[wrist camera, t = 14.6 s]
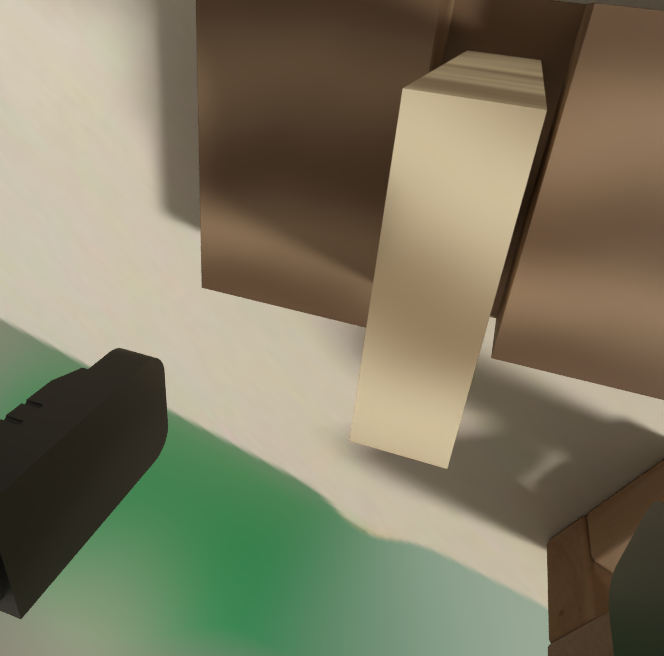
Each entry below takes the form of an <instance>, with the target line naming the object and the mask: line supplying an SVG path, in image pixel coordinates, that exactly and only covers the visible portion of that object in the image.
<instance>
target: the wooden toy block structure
mask: <svg viewBox="0 0 664 656" xmlns="http://www.w3.org/2000/svg"><path fill="white" fill-rule="evenodd" d="M656 501H660V502H663V503H664V460H663V461H661V462H660V463H658V464H657V465H655V466H654V467H653V468H651V469H650V470H648V471H647V472H646V473H644V474H643V475H641V476H640V477H639V478H637V479H636V480H634V481H633V482H631V483H630V484H629V485H627V486H626V487H624V488H623V489H622V490H620V491H619V492H617V493H616V494H615V495H613V496H612V497H610V498H609V499H607V500H606V501H605V502H603V503H602V504H600V505H599V506H598V507H596V508H595V509H593V510H592V511H591V512H589V514H588V516H587V517H586V516H584V517H581V518H580V519H578V520H577V521H576V522H574V523H573V524H571V525H570V526H569V527H567V528H566V529H564V530H563V531H562V532H560V533H559V534H557V535H556V536H555V537H553V538H552V539H550V540H549V542H548V544H547V569H548V613H549V640H550V643H551V644H550V645H549V646H548V656H614V652H613V643H612V634H611V626H610V617H609V602H608V601H609V589H610V583H611V579H612V575H613V572H614V569H615V567H616V565H617V563H618V561H619V560H620V558H621V556H622V554H623V552H624V551H625V549H626V547H627V545H628V543H629V542H630V540H631V538H632V536H633V534H634V533H635V531H636V529H637V527H638V525H639V524H640V522H641V520H642V518H643V517H644V515H645V513H646V511H647V510H648V508H649V507H650V505H651V504H653V503H654V502H656Z"/></svg>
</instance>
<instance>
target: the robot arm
mask: <svg viewBox="0 0 664 656" xmlns="http://www.w3.org/2000/svg"><path fill="white" fill-rule="evenodd" d="M167 432H168V418H167V403H166V388H165V373H164V366H163V363H162V362H161V360H159V359H158V358H154V357H151V356H147V355H143V354H140V353H136V352H133V351H129V350H126V349H122V348H117V349H114V350H112V351H111V352H109V353H108V354H107V355H105V356H104V357H103V358H102V359H100V360H99V361H98V362H97V363H95V364H94V365H93V366H92V367H90V368H89V369H85V368H80V369H78V370H76V371H73V372H71V373H69V374H66V375H64V376H62V377H59V378H57V379H54V380H52V381H51V382H49V383H48V384H46V385H45V386H44V387H42V388H41V389H40V390H39V391H37V392H36V393H35V394H33V395H32V396H31V397H30V398H28V399H27V401H26V403H25V404H20V405H19V406H18V407H16V408H15V409H14V410H12V411H11V412H10V413H8V414H7V415H6V418H5V420H0V611H2V612H5V613H7V614H10V615H12V616H15V617H17V618H19V619H21V618H23V616H24V615H25V614H26V613H27V612H28V611H29V609H30V608H31V607H32V606H33V605H34V603H35V602H36V601H37V600H38V599H39V597H40V596H41V595H42V594H43V593H44V592H45V590H46V589H47V588H48V587H49V585H51V583H52V582H53V581H54V580H55V579H56V577H57V576H58V575H59V574H60V573H61V572H62V570H63V569H64V568H65V567H66V566H67V564H68V563H69V562H70V561H71V560H72V559H73V557H74V556H75V555H76V554H77V553H78V551H79V550H80V549H81V548H82V547H83V546H84V544H85V543H86V542H87V541H88V540H89V539H90V537H91V536H92V535H93V534H94V532H95V531H96V530H97V529H98V528H99V527H100V526H101V524H102V523H103V522H104V521H105V520H106V518H107V517H108V516H109V515H110V514H111V513H112V511H113V510H114V509H115V508H116V507H117V505H118V504H119V503H120V502H121V501H122V500H123V498H124V497H125V496H126V495H127V494H128V492H129V491H130V490H131V489H132V488H133V487H134V485H135V484H136V483H137V481H139V479H140V478H141V477H142V476H143V475H144V474H145V472H146V471H147V470H148V469H149V468H150V467H151V465H152V464H153V463H154V462H155V461H156V459H157V458H158V456H159V454H160V453H161V451H162V449H163V446H164V444H165V441H166V437H167ZM608 602H609V617H610V626H611V634H612V643H613V652H614V656H664V503H663V502H660V501H656V502H654V503H653V504H651V505H650V507H649V508H648V510H647V511H646V513H645V515H644V517H643V518H642V520H641V522H640V524H639V525H638V527H637V529H636V531H635V533H634V534H633V536H632V538H631V540H630V542H629V543H628V545H627V547H626V549H625V551H624V552H623V554H622V556H621V558H620V560H619V561H618V563H617V565H616V567H615V569H614V572H613V575H612V579H611V583H610V589H609V601H608Z"/></svg>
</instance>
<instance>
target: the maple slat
mask: <svg viewBox="0 0 664 656" xmlns="http://www.w3.org/2000/svg"><path fill="white" fill-rule="evenodd" d="M546 112H547V105H546V97H545V89H544V80H543V72H542V64H541V60H537V59H529V58H522V57H514V56H506V55H499V54H491V53H484V52H476V51H469V50H467V51H465V52H464V53H462V54H460V55H459V56H457V57H455V58H454V59H452V60H450V61H448V62H447V63H445V64H443V65H442V66H440V67H438V68H437V69H435V70H433V71H431V72H430V73H428V74H426V75H425V76H423V77H421V78H419V79H418V80H416V81H414V82H413V83H411V84H409V85H408V86H406V87H404V88H403V89H402V96H401V103H400V109H399V116H398V122H397V129H396V136H395V142H394V149H393V155H392V162H391V169H390V175H389V182H388V188H387V195H386V201H385V208H384V215H383V221H382V228H381V234H380V241H379V248H378V254H377V261H376V267H375V274H374V281H373V287H372V294H371V300H370V307H369V313H368V320H367V327H366V333H365V340H364V346H363V353H362V360H361V366H360V373H359V379H358V386H357V393H356V399H355V406H354V412H353V419H352V425H351V432H350V439H349V441H352V442H355V443H359V444H362V445H366V446H369V447H373V448H376V449H380V450H383V451H386V452H390V453H393V454H397V455H400V456H404V457H407V458H411V459H414V460H418V461H421V462H425V463H428V464H432V465H435V466H439V467H442V468H445V469H447V468H448V465H449V461H450V457H451V454H452V450H453V447H454V443H455V439H456V436H457V432H458V429H459V425H460V421H461V418H462V414H463V411H464V407H465V403H466V400H467V396H468V393H469V389H470V385H471V382H472V378H473V375H474V371H475V368H476V364H477V360H478V357H479V353H480V350H481V346H482V342H483V339H484V335H485V332H486V328H487V324H488V321H489V317H490V314H491V310H492V306H493V303H494V299H495V296H496V292H497V288H498V285H499V281H500V278H501V274H502V270H503V267H504V263H505V260H506V256H507V252H508V249H509V245H510V242H511V238H512V234H513V231H514V227H515V224H516V220H517V216H518V213H519V209H520V206H521V202H522V199H523V195H524V191H525V188H526V184H527V181H528V177H529V173H530V170H531V166H532V163H533V159H534V155H535V152H536V148H537V145H538V141H539V137H540V134H541V130H542V127H543V123H544V119H545V116H546Z"/></svg>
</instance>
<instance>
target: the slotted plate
mask: <svg viewBox="0 0 664 656" xmlns="http://www.w3.org/2000/svg"><path fill="white" fill-rule="evenodd" d="M196 28H197V76H198V125H199V174H200V223H201V271H202V288H206V289H210V290H214V291H218V292H222V293H226V294H230V295H234V296H238V297H243V298H247V299H251V300H255V301H259V302H263V303H267V304H271V305H275V306H280V307H284V308H288V309H292V310H296V311H300V312H304V313H308V314H312V315H317V316H321V317H325V318H329V319H333V320H337V321H341V322H345V323H349V324H354V325H358V326H362V327H367V320H368V313H369V307H370V300H371V294H372V287H373V281H374V274H375V267H376V261H377V254H378V248H379V241H380V234H381V228H382V221H383V215H384V208H385V201H386V195H387V188H388V182H389V175H390V169H391V162H392V155H393V149H394V142H395V136H396V129H397V122H398V116H399V109H400V103H401V96H402V89H403V88H404V87H406V86H408V85H409V84H411V83H413V82H414V81H416V80H418V79H419V78H421V77H423V76H425V75H426V74H428V73H430V72H431V71H433V70H435V69H437V68H438V67H440V66H442V65H443V64H445V63H447V62H448V61H450V60H452V59H454V58H455V57H457V56H459V55H460V54H462V53H464V52H465V51H467V50H469V51H476V52H484V53H491V54H499V55H506V56H514V57H522V58H529V59H537V60H541V64H542V72H543V80H544V89H545V97H546V105H547V112H546V116H545V119H544V123H543V127H542V130H541V134H540V137H539V141H538V145H537V148H536V152H535V155H534V159H533V163H532V166H531V170H530V173H529V177H528V181H527V184H526V188H525V191H524V195H523V199H522V202H521V206H520V209H519V213H518V216H517V220H516V224H515V227H514V231H513V234H512V238H511V242H510V245H509V249H508V252H507V256H506V260H505V263H504V267H503V270H502V274H501V278H500V281H499V285H498V288H497V292H496V296H495V299H494V303H493V306H492V310H491V314H490V317H494V318H496V325H495V332H494V340H493V348H492V356H491V358H493V359H497V360H502V361H506V362H510V363H514V364H518V365H522V366H526V367H530V368H534V369H539V370H543V371H547V372H551V373H555V374H559V375H563V376H567V377H571V378H576V379H580V380H584V381H588V382H592V383H596V384H600V385H604V386H608V387H613V388H617V389H621V390H625V391H629V392H633V393H637V394H641V395H645V396H650V397H654V398H658V399H662V400H664V11H662V10H653V9H644V8H635V7H626V6H616V5H607V4H598V3H592V4H579V3H570V2H561V1H552V0H196Z"/></svg>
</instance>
